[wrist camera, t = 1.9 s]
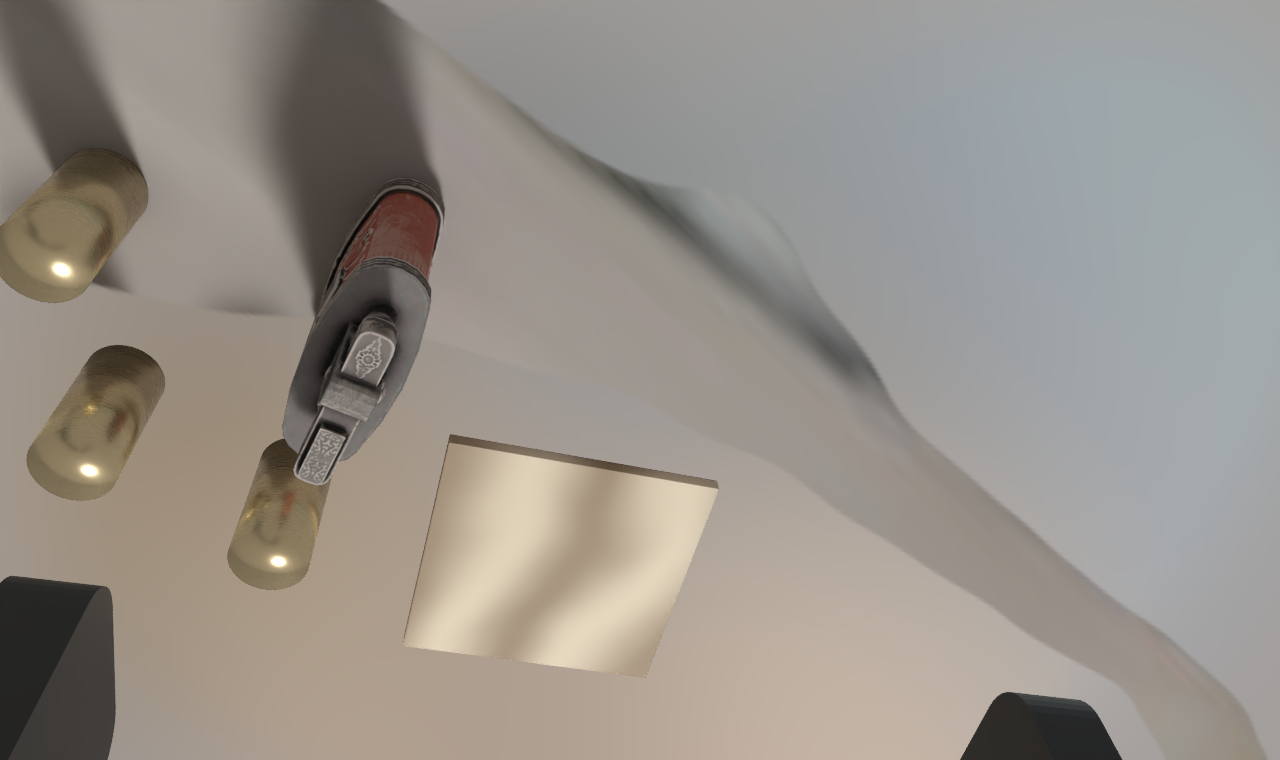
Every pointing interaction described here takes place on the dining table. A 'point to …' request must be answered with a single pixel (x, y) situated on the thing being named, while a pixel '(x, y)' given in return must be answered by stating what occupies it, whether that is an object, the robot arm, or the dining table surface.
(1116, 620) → the dining table surface
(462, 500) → the pad
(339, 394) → the lighter
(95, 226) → the spacer posts
